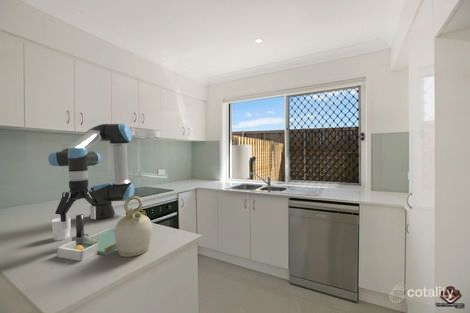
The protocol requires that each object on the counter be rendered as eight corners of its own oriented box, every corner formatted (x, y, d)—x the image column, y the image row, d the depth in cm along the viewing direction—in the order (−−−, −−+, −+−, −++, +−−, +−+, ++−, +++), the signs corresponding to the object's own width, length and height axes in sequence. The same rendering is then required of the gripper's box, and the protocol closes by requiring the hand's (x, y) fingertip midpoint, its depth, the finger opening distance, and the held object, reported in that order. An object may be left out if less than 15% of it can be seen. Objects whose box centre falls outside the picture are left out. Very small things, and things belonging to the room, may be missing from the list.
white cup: (69, 234, 118) (68, 216, 118) (73, 237, 113) (72, 218, 113) (50, 238, 112) (49, 219, 112) (54, 242, 107) (53, 222, 107)
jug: (151, 255, 92) (149, 197, 92) (110, 261, 88) (109, 200, 87) (153, 241, 107) (152, 191, 106) (119, 245, 102) (118, 193, 102)
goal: (74, 249, 99) (74, 240, 99) (98, 252, 95) (97, 244, 95) (57, 256, 92) (56, 247, 92) (81, 261, 88) (81, 251, 88)
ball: (78, 253, 96) (80, 244, 96) (84, 254, 94) (86, 245, 95) (69, 255, 92) (71, 245, 93) (76, 256, 91) (78, 246, 92)
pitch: (107, 231, 122) (107, 226, 122) (142, 235, 115) (142, 230, 115) (66, 248, 100) (65, 242, 100) (106, 254, 93) (106, 248, 93)
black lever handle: (82, 238, 107) (81, 213, 106) (103, 241, 103) (102, 215, 103) (71, 242, 102) (71, 216, 102) (93, 245, 98) (93, 218, 98)
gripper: (96, 176, 116) (97, 214, 117) (43, 183, 92) (45, 232, 93) (106, 176, 114) (108, 215, 115) (56, 184, 90) (58, 233, 91)
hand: (80, 223), depth 104 cm, fingers open, 13 cm apart
